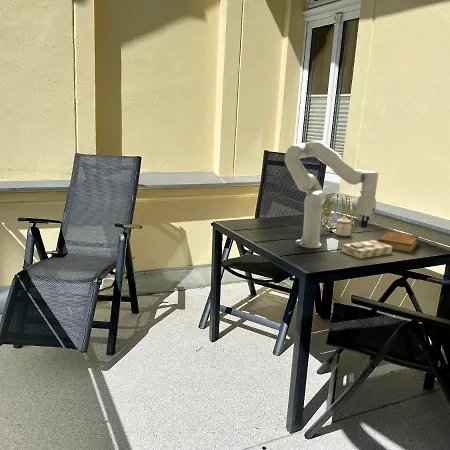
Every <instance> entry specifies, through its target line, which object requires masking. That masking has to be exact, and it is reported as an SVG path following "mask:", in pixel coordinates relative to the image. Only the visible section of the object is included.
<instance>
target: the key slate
mask: <svg viewBox="0 0 450 450" xmlns="http://www.w3.org/2000/svg"><path fill="white" fill-rule="evenodd" d="M351 247H353V248H356V249H359V248H364V246H363V245H360V244H358V243H357V244H351Z"/></svg>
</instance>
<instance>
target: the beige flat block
mask: <svg viewBox="0 0 450 450" xmlns="http://www.w3.org/2000/svg"><path fill="white" fill-rule="evenodd" d="M364 242H369V243H379V244H382V245H380V246H376V245H374V246H373V247H365V246H364V248H359V249H356V248H353V247H351V244H357V243H358V244H360V245H361V243H364ZM340 251H341V252H342V253H344V254H348V255H350V256H352V257H355V258H357V259H365V258H371V257H377V256H384V255H390V254H392V252H393V250H392V246H390V245H387V244H384V243H381V242H378V240H374V239H371V240H365V241H358V242H357V241H356V242H350V243H342V244H341V249H340Z"/></svg>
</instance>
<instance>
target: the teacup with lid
mask: <svg viewBox="0 0 450 450" xmlns="http://www.w3.org/2000/svg"><path fill="white" fill-rule="evenodd" d="M346 217H347V216H342V217H341V218H338V219H337V220H336V227H335V229H336V230H335V234H336V235H337V236H340V237H341V236H342V237H348V236H350V234H351V227H352V226H351V225H352V220H350V219H349V218H346Z"/></svg>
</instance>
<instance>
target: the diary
mask: <svg viewBox="0 0 450 450" xmlns="http://www.w3.org/2000/svg"><path fill="white" fill-rule="evenodd" d="M418 238H419V235H415V234H407V233H403V232H402V233H401V232H395V231H389V230H388V231H386V232H385V233H384V234H383V235H381V236H380V238H379V239H377V241H378V242H381V243H384V244H387V245H390V246H392V251H395V252H396V251H397V252H403V253H409V254H412V253H413V251H414V249H416V247H417V245H418V243H417V242H418V241H417V240H418Z"/></svg>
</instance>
